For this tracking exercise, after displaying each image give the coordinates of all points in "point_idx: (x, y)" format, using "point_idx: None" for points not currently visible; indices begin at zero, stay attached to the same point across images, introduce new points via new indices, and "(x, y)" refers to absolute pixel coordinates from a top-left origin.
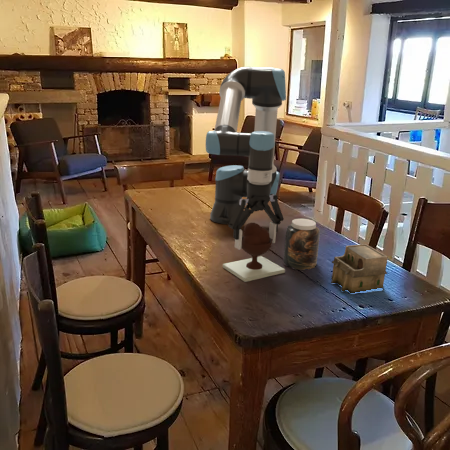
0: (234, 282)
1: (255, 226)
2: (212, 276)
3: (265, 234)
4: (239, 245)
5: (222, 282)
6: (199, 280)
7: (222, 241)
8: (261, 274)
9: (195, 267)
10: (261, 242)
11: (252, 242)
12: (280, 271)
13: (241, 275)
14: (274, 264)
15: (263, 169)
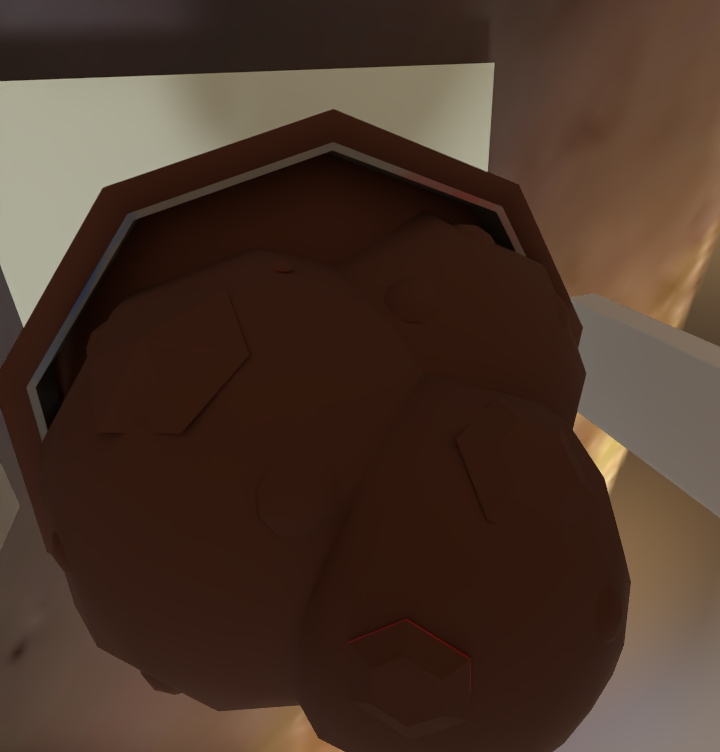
0: (549, 100)
1: (539, 582)
2: (605, 272)
3: (245, 359)
4: (638, 315)
5: (618, 144)
6: (703, 242)
7: (241, 743)
8: (299, 73)
9: (598, 430)
10: (328, 268)
11: (531, 261)
12: (16, 82)
13: (482, 142)
14: (24, 265)
15: None
